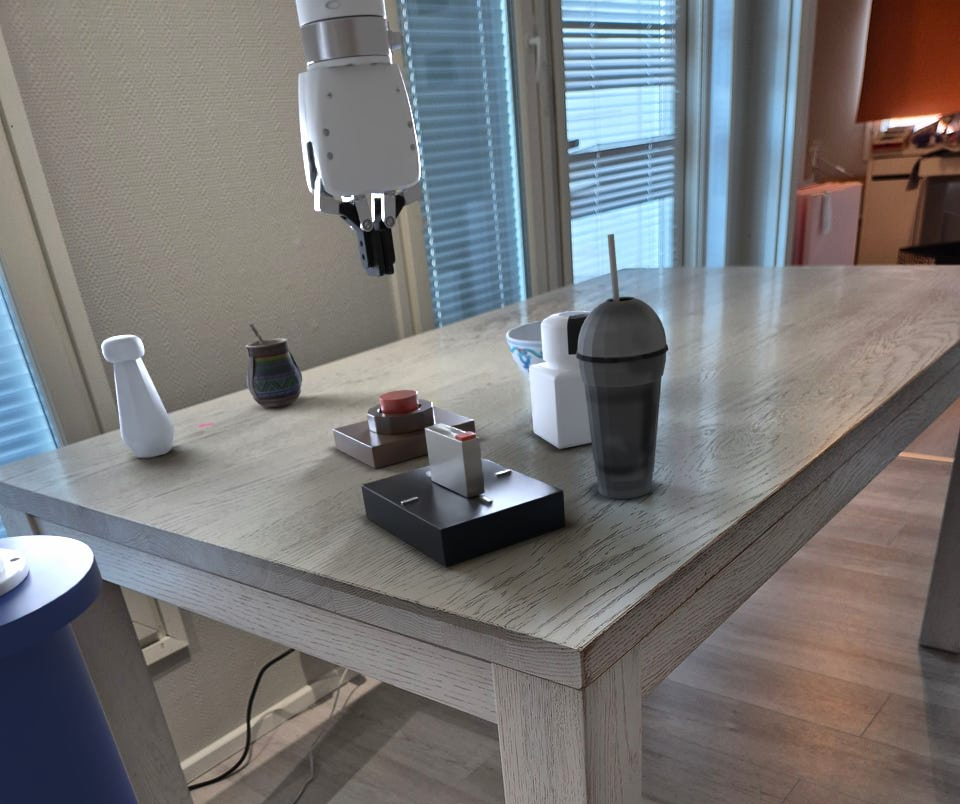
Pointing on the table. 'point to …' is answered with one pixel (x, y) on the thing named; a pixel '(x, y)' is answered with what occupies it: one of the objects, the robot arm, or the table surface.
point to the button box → (395, 434)
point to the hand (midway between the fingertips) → (380, 274)
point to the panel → (463, 512)
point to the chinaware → (526, 345)
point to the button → (399, 402)
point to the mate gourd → (272, 372)
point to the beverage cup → (622, 388)
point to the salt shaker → (138, 399)
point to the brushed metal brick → (455, 459)
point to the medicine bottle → (560, 383)
